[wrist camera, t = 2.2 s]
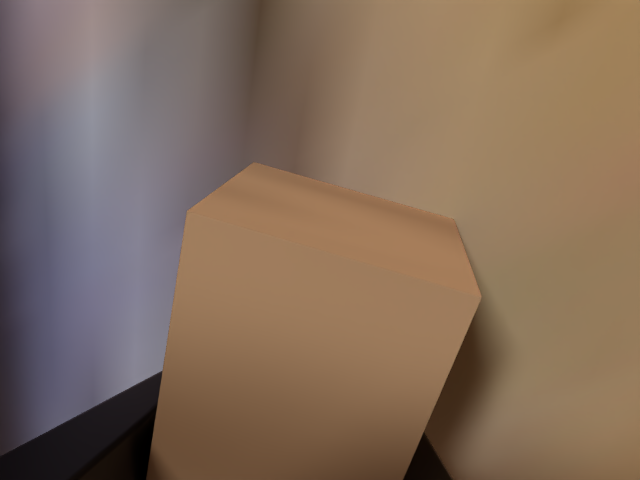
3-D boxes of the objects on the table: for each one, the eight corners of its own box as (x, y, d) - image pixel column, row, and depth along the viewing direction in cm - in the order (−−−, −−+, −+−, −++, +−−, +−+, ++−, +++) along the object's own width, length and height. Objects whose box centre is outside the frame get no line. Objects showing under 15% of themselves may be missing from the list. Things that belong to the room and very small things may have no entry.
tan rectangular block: (333, 531, 11) (312, 687, 8) (190, 485, 11) (124, 623, 9) (453, 216, 8) (481, 297, 5) (256, 160, 8) (186, 211, 6)
